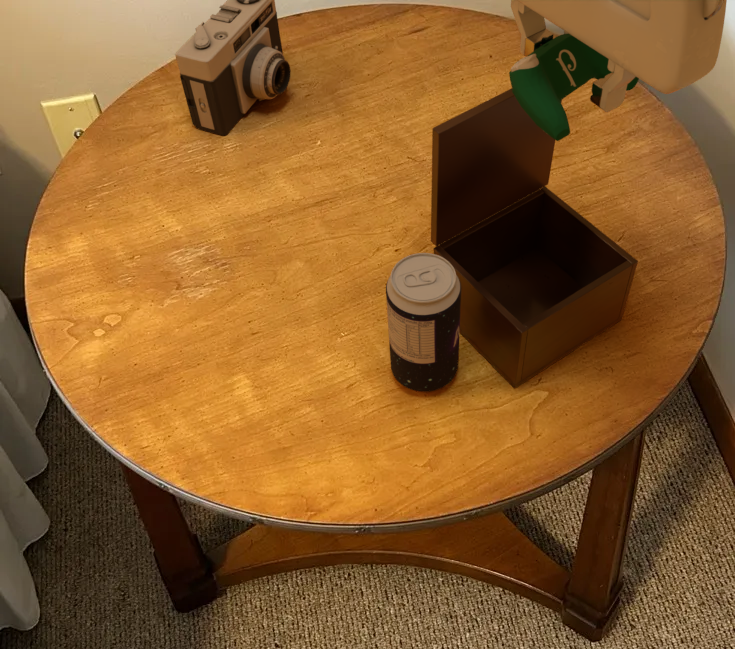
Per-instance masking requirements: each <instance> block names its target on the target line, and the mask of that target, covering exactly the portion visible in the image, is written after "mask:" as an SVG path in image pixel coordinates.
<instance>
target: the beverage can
mask: <svg viewBox="0 0 735 649" xmlns="http://www.w3.org/2000/svg"><path fill="white" fill-rule="evenodd" d="M385 297H386V300H385V301H386V314H387V330H388V344H389V358H390V359H389V360H390V371H391V373H392V376H393V377H394V379H395V380H396V381H397V382H398V383H399V384H400V385H402V386H403V387H405V388H407V389H408V390H411V391H414V392H421V393H428V392H434V391H438V390H441V389H442V388H444V387H446V386H448V385H449V384H450V383H451V382H452V381H453V380H454V378H455V377H456V376H457V372H458V370H459V357H460V356H459V353H460V334H461V333H460V307H461V283H460V280H459V278H458V276H457V275H456V272H455V269H454V268H453V266H452V265H451V263H450V262H449V261H447V260H446V259H444V258H443V257H441V256H438V255H435V254H434V253H430V252H417V253H412V254H409V255H406V256H404V257H403V258H401V259H400V260H398V261H397V262H396V263H395V265H394V266H393V268H392V270H391V272H390V275H389V277H388V279H387V281H386V284H385Z"/></svg>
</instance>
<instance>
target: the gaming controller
mask: <svg viewBox="0 0 735 649" xmlns="http://www.w3.org/2000/svg"><path fill="white" fill-rule="evenodd" d="M608 61H609V59H608V58H606V57H605V56H603V55H602V54H600V53H598V52H597V51H595V50H594V49H592V48H591V47H589V46H588V45H586V44H584V43H583V42H581V41H580V40H578V39H577V38H575V37H574V36H572V35H570V34H569V33H567V32H566V31H564V30H563V34H560V35H558V36H555V37H553V39H552V40H550V41H549V42H547V43H545V44H544V45H542V46H541V47H539V48H538V49H536V50H535V51H534V52H532V53H531V54H529V55H528V56H524V57H522V58H520V59H519V60H517V61H516V62H514V64H513V65H512V66H511V67H510V71H509V73H508V74H509V82H510V85H511V88H512V92H513V94H514V95H515V97H516V99H517V101H518V102H519V104H520V105H521V107H522V108H523V109H524V111H525V112H526V113H527V114H528V115H529V116H530V118H531V119H532V120H533V121H534V122H535V124H536V125H537V126H538V127H540V128H541V129H542V130H543V131H544V132H546V133H547V134H548V135H549V136H551V137H552V138H553V139H555V142H560V141H562V139H564V138H566V137H568V136H569V135H570V134H571V128H570V123H569V120H568V115H567V113H566V110H565V108H564V106H563V104H562V102H560V101H561V100H562V101H563V100H564V99H565V98H567V96H569V95H570V94H573V93H574V92H575V91H576V90H578V89H579V88H580V87H583V86H585V85H586V84H587V83H588V82H589V81H590V80H592V79H595V80H598V79H601V78H605V76H606V75H608V74H610V73H612V72H611V71H609V70H608V68H607V67H608ZM613 73H614V72H613ZM639 80H640V79H639V78H637V77H635V78H634V79H633V80H632V81H631V82H630V83H628V84H627V89H626V92H627V91H631V90H633V89H634V88H635V87H636V85H637V84H638V82H639Z"/></svg>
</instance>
